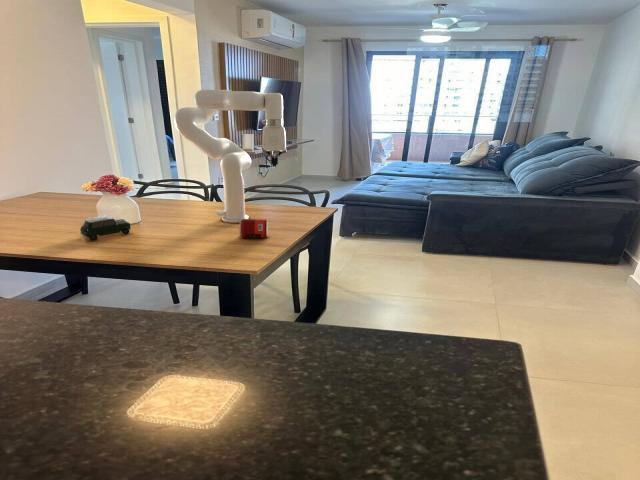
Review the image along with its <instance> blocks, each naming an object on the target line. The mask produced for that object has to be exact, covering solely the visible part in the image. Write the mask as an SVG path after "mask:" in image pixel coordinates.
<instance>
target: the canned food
mask: <svg viewBox="0 0 640 480" xmlns="http://www.w3.org/2000/svg"><path fill="white" fill-rule="evenodd" d="M268 226H269V225H268V219H266V218H249V219H240V222H239V226H238V227H239V237H240V239H265V238H268V233H269V232H268V231H269V229H268V228H269V227H268Z"/></svg>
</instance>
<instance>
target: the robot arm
mask: <svg viewBox="0 0 640 480" xmlns="http://www.w3.org/2000/svg"><path fill="white" fill-rule="evenodd" d="M193 101H194V103H195V105H196V107H191V106H190V107H188V106H187V107H181V108H179V109H178V110H176V111H175V113H174V117H173V118H174V119H173V121H174V125H175V128H176V130H177V132H178V133H179V134H180V135H181V137H183V138H184V139H185V140H186V141H188V142H189V143H190V144H192V145H193V146H194V147H196V148H197V149H198V150H199V151H201V153H203V154H204V155H205V156H207V157H208V158H210V159H211V160H214V161H216V160H217V161H218V160H220V163H219V165H220V171H221V176H222V185H223V201H224V202H223V203H224V209H223V210H215V215H217V216H219V217H220V216H222V217H221V220H222V221H223V222H225V223H230V224H234V223H235V224H236V223H240V219H250V218H249V215H248V214H246V204H245V203H246V201H245V200H246V198H245V180H244V176H243V174H242V172H245V171H247V170H249V169H250V168H251V166H252V158H251V156H250V155H249V154H248V153H247V152H246V151H245V150H244V149H242V148H241V147H240V146H239V145H238V144H236V143H234V142H233V141H232V140H230V139H228V138H226V137H214V136H212V135H211V134H210V133H209V132H207V130H205V129H203V128H201V127H202V126H205V125H207V124H208V123H209V121H210V120H211V119H212V118H213V117H214V116H215V115H216V114H217V113H218V111H229V112H230V111H250V112H254V111H255V112H262V111H264V113H265V115H264V118H265V119H263V120H261V124H263V125H264V126H263V129H262V147H261V148H262V151H261V152H262V153H264V154H267V155H268V156H269V157H270V164H271V165H272V168H273V167H277V166H278V165H279V157H280V156H281V155H282V154H287V153H288V152H287V136H286V129H285V126H284V98H283V95H282V93H280V92H267V93H265V92H264V93H263V92H258V91H248V90H247V91H241V90H237V91H236V90H230V89H200V90H197V91H196V92H195V94H194V95H193ZM274 152H275V155H274Z"/></svg>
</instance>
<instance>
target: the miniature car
mask: <svg viewBox="0 0 640 480" xmlns="http://www.w3.org/2000/svg"><path fill="white" fill-rule="evenodd" d="M130 230H132V226H131V223H130V222H128V221H126V220H125V219H122V218H121V219H120V218H119V219H115V218H114V217H113V216H111V215H107V214H106V215H97V216H92V217H88V218H85V220H84V222H83V224H82V225H81V226H80V229H79V231H80V232H79V234H80V236H81V237H83V238H84V239H85V238H87V239H89V240H90V241H92V242H95V241H96V240H98V237H103V236H108V235H115V234H119V233H121V234H122V235H124V236H125V235H129V234H130V232H131V231H130Z"/></svg>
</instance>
